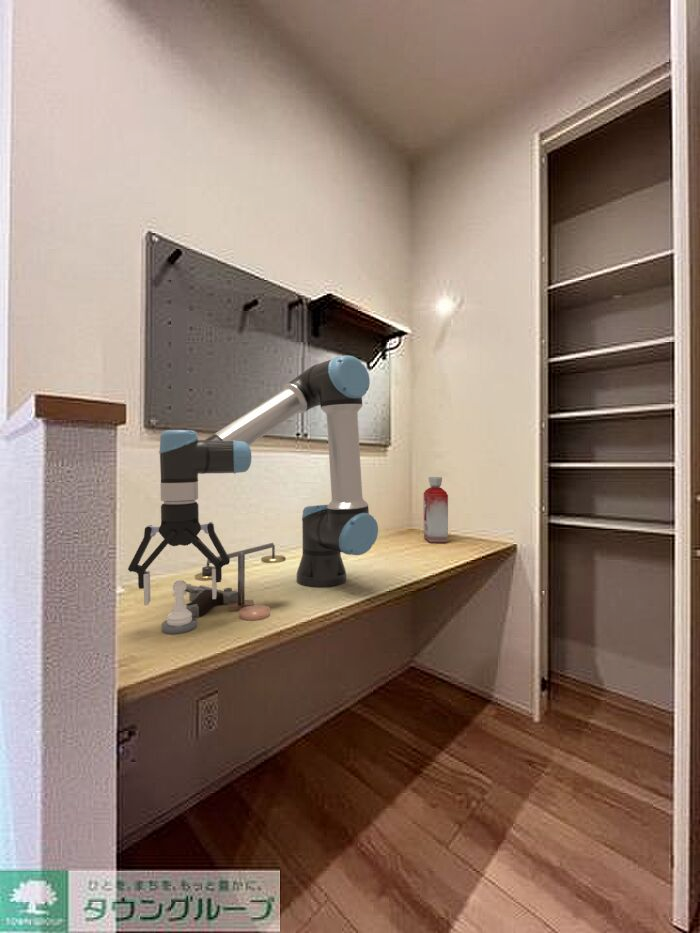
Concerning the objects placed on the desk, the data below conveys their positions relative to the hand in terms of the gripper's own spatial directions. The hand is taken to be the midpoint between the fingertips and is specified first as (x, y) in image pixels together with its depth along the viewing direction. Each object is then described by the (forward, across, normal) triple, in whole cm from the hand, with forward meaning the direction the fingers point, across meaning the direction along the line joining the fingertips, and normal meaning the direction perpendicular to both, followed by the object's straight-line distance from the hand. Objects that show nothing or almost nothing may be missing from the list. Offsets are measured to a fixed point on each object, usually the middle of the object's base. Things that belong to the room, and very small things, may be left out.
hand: (181, 600), depth 92 cm
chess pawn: (+5, 0, 0) cm, 5 cm away
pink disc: (+6, -16, -4) cm, 17 cm away
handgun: (+7, 0, -18) cm, 19 cm away
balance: (+6, -12, -10) cm, 17 cm away
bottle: (+8, -101, -85) cm, 132 cm away
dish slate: (+6, 0, 0) cm, 6 cm away
